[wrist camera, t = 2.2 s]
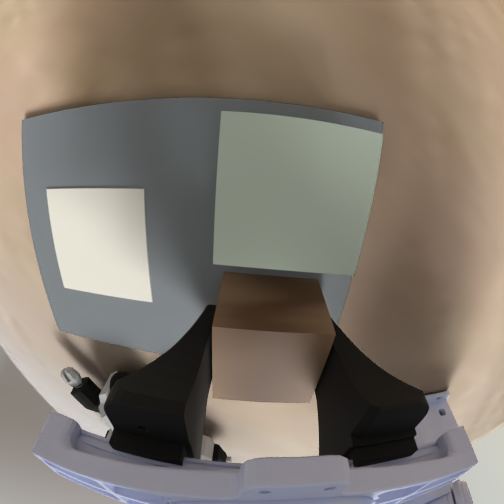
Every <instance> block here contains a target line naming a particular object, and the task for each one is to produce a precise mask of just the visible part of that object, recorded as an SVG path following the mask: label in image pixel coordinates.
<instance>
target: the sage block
mask: <svg viewBox="0 0 504 504" xmlns="http://www.w3.org/2000/svg"><path fill="white" fill-rule="evenodd" d="M383 135H384V134H380V133H376V132H372V131H367V130H363V129H358V128H354V127H349V126H344V125H339V124H333V123H328V122H322V121H316V120H310V119H303V118H296V117H288V116H280V115H271V114H260V113H248V112H233V111H221V121H220V134H219V148H218V163H217V180H216V199H215V221H214V248H213V264H217V265H228V266H240V267H251V268H263V269H275V270H287V271H299V272H312V273H325V274H338V275H352V276H354V275H355V271H356V268H357V264H358V260H359V257H360V253H361V249H362V245H363V241H364V237H365V232H366V228H367V224H368V219H369V215H370V210H371V205H372V201H373V196H374V190H375V185H376V180H377V174H378V168H379V162H380V156H381V149H382V142H383Z"/></svg>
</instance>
